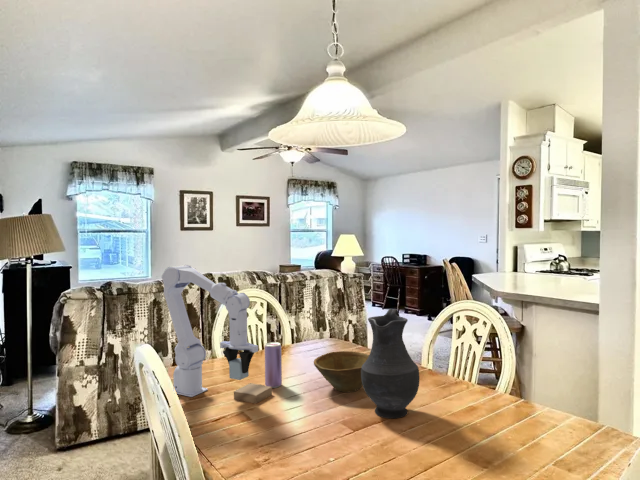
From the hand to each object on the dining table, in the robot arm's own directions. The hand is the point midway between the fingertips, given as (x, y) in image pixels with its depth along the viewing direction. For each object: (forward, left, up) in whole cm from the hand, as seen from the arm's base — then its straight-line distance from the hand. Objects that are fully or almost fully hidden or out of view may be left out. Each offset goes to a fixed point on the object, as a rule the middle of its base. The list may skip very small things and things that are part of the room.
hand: (239, 371), depth 144 cm
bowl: (+27, +25, -9) cm, 38 cm away
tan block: (+3, +3, -10) cm, 11 cm away
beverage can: (+3, +15, -9) cm, 18 cm away
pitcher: (+48, +13, -9) cm, 51 cm away
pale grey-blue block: (0, 0, -2) cm, 2 cm away
